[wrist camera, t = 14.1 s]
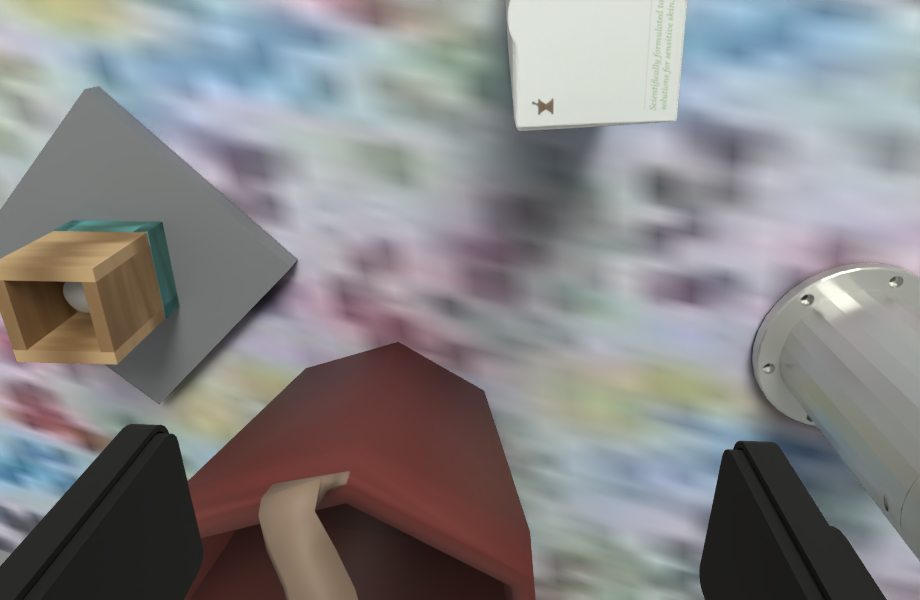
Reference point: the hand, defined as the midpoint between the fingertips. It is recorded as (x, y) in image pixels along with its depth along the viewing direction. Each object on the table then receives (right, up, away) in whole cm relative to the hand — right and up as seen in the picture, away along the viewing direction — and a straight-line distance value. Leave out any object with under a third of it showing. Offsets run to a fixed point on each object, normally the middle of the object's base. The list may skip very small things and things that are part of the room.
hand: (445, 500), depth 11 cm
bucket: (-5, -7, +39) cm, 40 cm away
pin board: (-22, +6, +34) cm, 41 cm away
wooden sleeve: (-22, +6, +32) cm, 40 cm away
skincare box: (+6, +20, +26) cm, 33 cm away
